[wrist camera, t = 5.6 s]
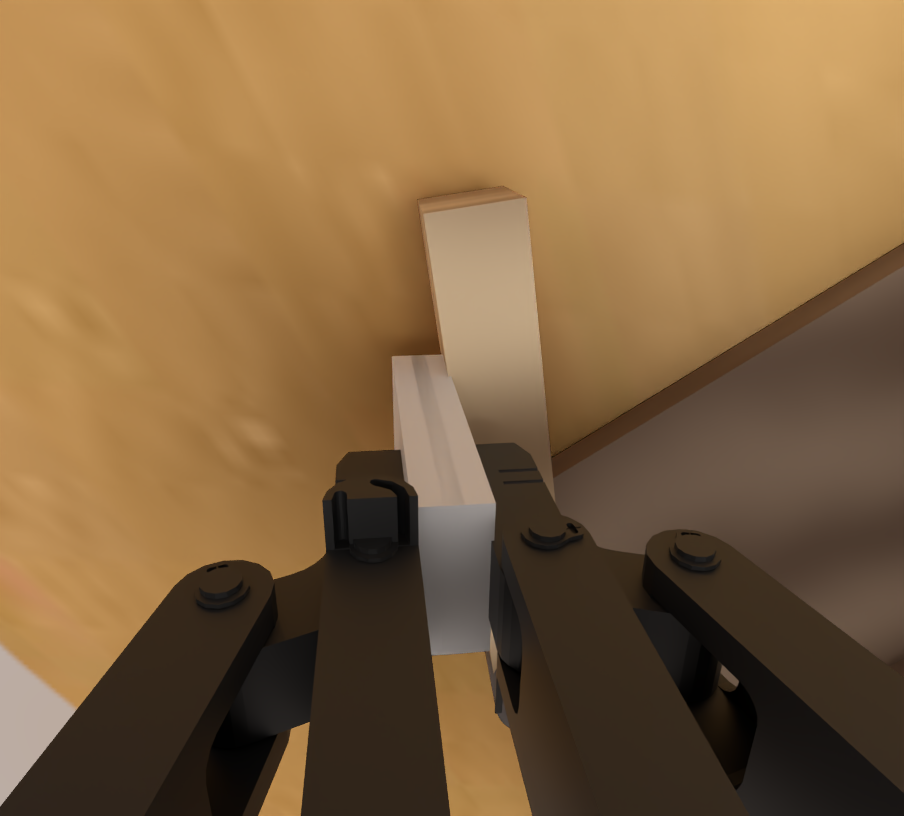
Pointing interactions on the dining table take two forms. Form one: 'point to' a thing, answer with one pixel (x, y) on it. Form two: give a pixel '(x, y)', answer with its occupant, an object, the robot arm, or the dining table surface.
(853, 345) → the frame
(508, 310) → the leg
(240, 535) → the dining table surface
